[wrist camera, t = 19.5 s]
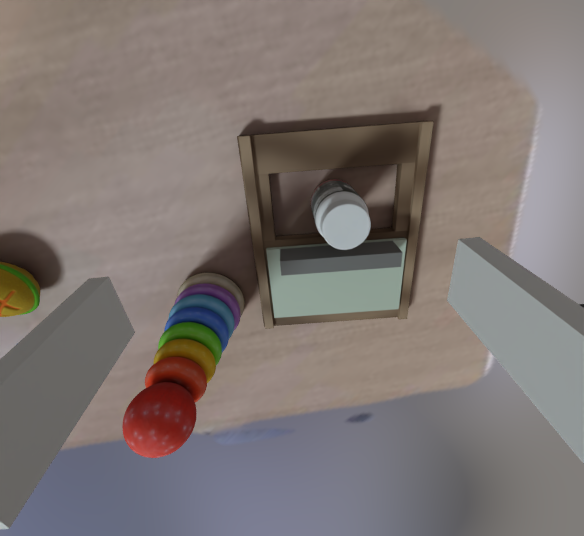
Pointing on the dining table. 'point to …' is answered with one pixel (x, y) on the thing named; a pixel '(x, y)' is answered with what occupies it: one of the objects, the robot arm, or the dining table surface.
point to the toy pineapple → (17, 291)
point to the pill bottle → (340, 214)
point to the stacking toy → (183, 364)
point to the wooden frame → (330, 155)
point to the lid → (336, 278)
